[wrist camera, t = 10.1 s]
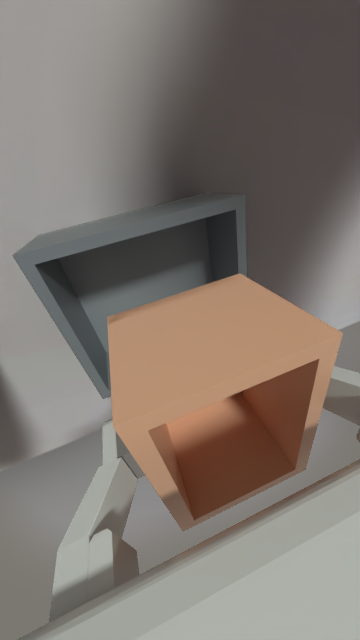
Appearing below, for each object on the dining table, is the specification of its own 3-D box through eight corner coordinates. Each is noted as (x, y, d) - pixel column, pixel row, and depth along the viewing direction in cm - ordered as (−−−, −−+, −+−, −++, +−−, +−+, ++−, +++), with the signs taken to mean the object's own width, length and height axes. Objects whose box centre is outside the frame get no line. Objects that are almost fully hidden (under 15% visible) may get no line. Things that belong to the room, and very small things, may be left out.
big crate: (38, 235, 16) (12, 255, 11) (205, 192, 18) (245, 194, 13) (101, 353, 23) (103, 399, 18) (218, 312, 25) (248, 342, 20)
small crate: (107, 317, 9) (113, 426, 5) (239, 273, 10) (342, 333, 6) (157, 425, 13) (183, 531, 9) (245, 388, 14) (305, 469, 10)
